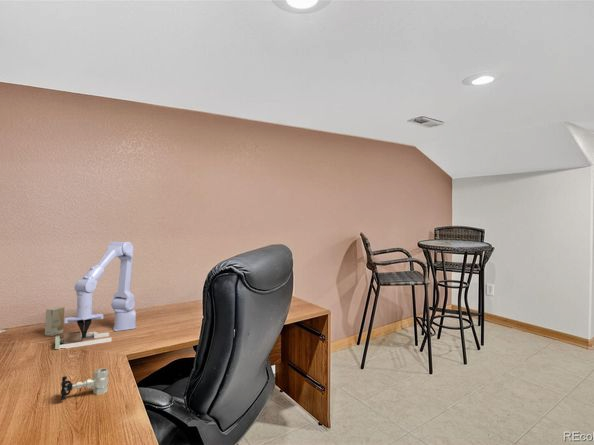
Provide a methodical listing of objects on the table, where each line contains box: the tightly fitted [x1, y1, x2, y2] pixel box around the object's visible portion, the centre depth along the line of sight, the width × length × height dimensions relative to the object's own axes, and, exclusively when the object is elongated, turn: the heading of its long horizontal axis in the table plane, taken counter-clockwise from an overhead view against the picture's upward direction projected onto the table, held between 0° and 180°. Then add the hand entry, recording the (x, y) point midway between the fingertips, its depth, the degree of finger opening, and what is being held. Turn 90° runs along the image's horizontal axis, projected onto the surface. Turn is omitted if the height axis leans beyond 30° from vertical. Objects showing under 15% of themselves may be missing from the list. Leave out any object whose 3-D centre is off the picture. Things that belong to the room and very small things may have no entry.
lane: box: [54, 331, 113, 350], centre depth 151 cm, size 20×15×3 cm
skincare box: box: [44, 306, 65, 337], centre depth 160 cm, size 6×4×12 cm
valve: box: [60, 367, 110, 401], centre depth 102 cm, size 7×7×12 cm
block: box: [62, 330, 82, 345], centre depth 146 cm, size 6×5×4 cm
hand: (83, 337), depth 149 cm, fingers closed
